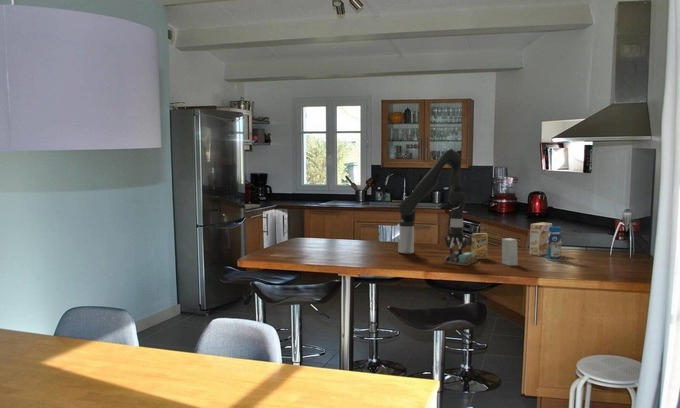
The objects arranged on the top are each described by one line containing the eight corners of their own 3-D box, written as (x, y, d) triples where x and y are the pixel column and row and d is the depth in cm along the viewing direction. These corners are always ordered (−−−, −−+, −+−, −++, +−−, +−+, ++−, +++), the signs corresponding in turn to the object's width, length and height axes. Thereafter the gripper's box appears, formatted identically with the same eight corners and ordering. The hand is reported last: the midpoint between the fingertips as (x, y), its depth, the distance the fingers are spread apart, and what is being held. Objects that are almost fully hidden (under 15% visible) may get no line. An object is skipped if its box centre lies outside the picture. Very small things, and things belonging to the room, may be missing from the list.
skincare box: (517, 265, 337) (518, 239, 336) (508, 265, 336) (508, 240, 334) (510, 262, 345) (511, 237, 344) (500, 263, 344) (501, 237, 342)
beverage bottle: (550, 257, 362) (551, 225, 360) (563, 259, 356) (564, 226, 354) (543, 259, 356) (544, 226, 354) (557, 261, 350) (558, 228, 348)
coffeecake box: (539, 255, 369) (540, 224, 367) (528, 254, 374) (529, 223, 373) (551, 253, 379) (552, 223, 377) (541, 251, 384) (542, 222, 383)
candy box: (474, 259, 356) (475, 234, 354) (470, 258, 360) (471, 233, 358) (487, 258, 358) (488, 233, 357) (483, 257, 362) (484, 232, 361)
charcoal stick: (456, 258, 354) (456, 251, 354) (462, 258, 352) (462, 252, 352) (449, 261, 344) (449, 254, 344) (454, 261, 342) (454, 254, 342)
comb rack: (466, 265, 335) (466, 259, 335) (443, 263, 343) (443, 257, 342) (477, 260, 350) (477, 255, 350) (455, 258, 358) (455, 252, 358)
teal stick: (466, 259, 351) (466, 252, 351) (472, 259, 349) (472, 252, 349) (458, 262, 341) (458, 255, 341) (464, 262, 339) (464, 255, 339)
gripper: (442, 225, 347) (442, 254, 349) (465, 227, 339) (465, 257, 341) (447, 224, 353) (447, 252, 355) (470, 226, 346) (469, 255, 347)
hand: (455, 254), depth 348 cm, fingers open, 4 cm apart
